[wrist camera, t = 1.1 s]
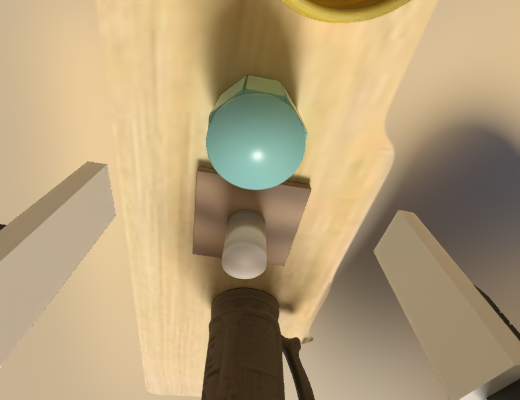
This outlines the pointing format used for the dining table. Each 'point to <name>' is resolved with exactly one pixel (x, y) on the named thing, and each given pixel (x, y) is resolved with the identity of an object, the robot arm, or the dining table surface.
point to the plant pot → (343, 9)
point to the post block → (246, 222)
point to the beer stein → (250, 350)
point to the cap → (255, 134)
